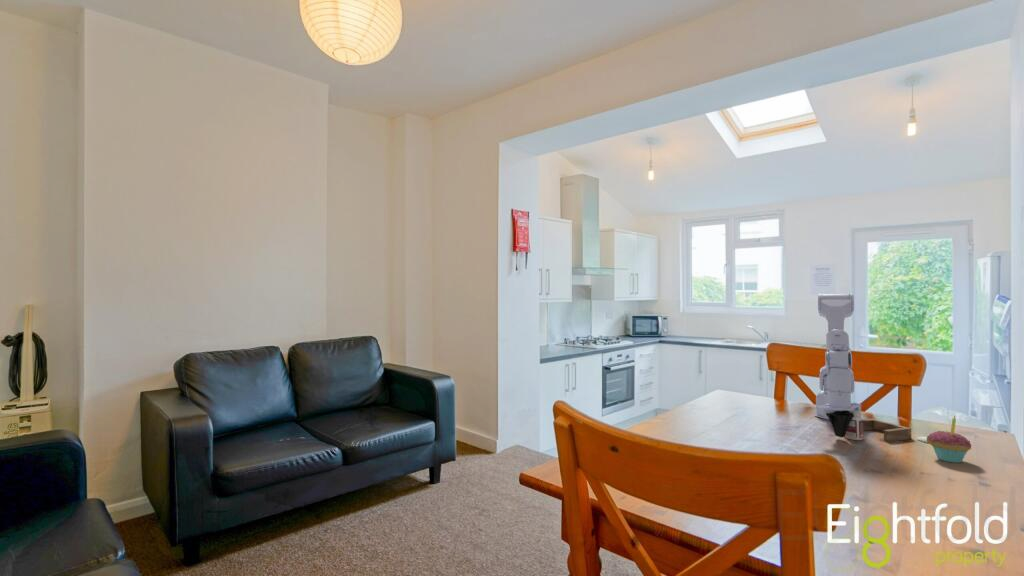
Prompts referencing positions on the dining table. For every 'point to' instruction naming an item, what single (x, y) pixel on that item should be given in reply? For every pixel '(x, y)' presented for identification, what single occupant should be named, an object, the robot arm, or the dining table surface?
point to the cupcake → (949, 444)
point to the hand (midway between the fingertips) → (839, 436)
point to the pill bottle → (855, 426)
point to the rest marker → (922, 439)
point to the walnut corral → (888, 429)
